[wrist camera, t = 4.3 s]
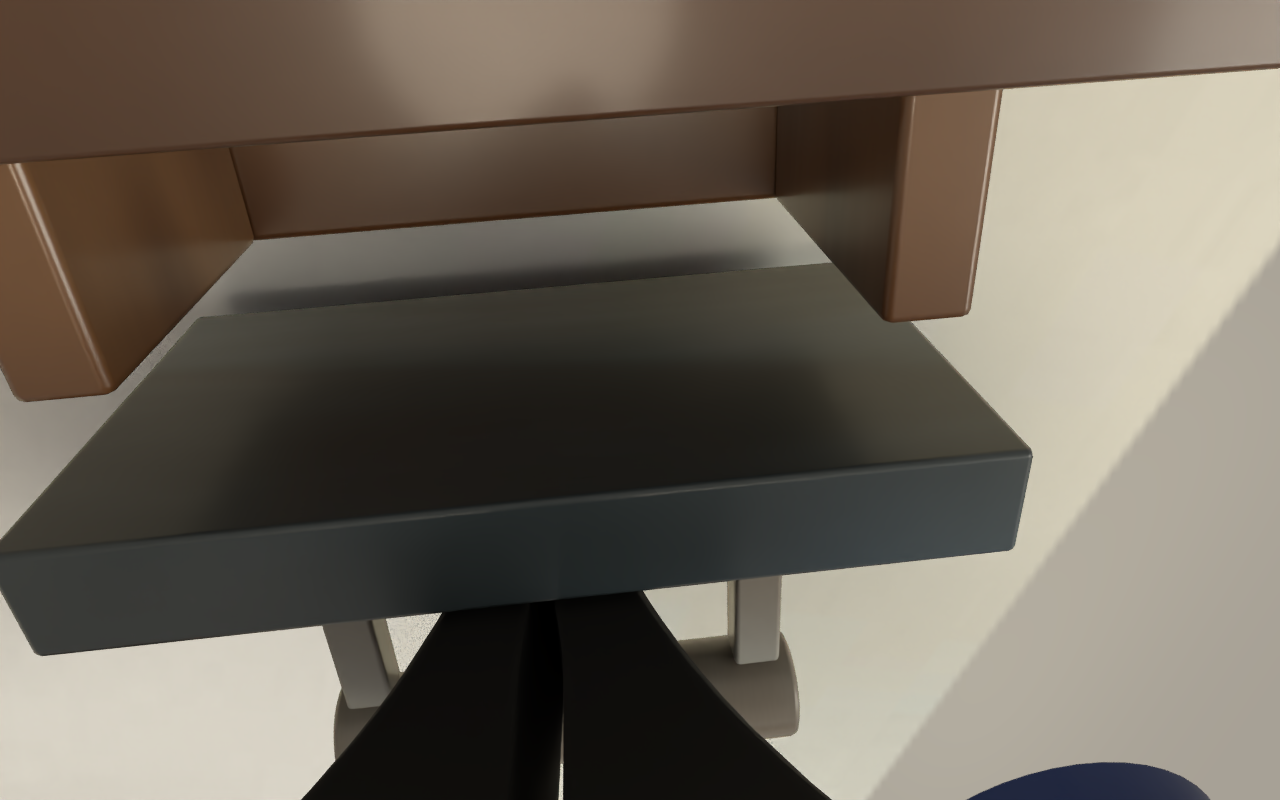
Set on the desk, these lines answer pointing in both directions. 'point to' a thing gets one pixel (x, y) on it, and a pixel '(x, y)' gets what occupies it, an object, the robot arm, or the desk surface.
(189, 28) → the cabinet
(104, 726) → the desk surface
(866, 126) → the drawer
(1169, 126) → the desk surface
